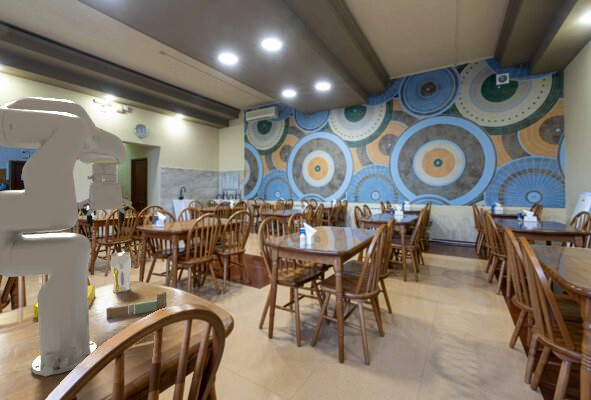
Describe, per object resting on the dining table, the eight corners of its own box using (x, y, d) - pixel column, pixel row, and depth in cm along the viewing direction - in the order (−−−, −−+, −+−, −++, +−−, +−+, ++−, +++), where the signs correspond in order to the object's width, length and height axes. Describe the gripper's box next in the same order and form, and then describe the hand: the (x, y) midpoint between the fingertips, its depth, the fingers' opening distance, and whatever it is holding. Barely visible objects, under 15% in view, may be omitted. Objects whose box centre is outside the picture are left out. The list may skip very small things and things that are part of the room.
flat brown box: (172, 317, 92) (172, 306, 92) (102, 330, 83) (102, 318, 83) (169, 296, 109) (169, 286, 109) (111, 305, 100) (110, 295, 100)
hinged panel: (134, 315, 92) (134, 298, 91) (135, 311, 94) (134, 295, 94) (166, 309, 96) (166, 293, 96) (166, 306, 99) (166, 290, 98)
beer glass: (107, 291, 112) (106, 255, 112) (123, 286, 119) (122, 251, 118) (119, 294, 110) (118, 256, 109) (135, 288, 116) (134, 252, 115)
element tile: (89, 310, 97) (88, 297, 97) (31, 320, 90) (31, 306, 90) (96, 295, 110) (95, 283, 110) (46, 302, 103) (45, 289, 103)
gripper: (77, 178, 96) (79, 228, 97) (133, 179, 108) (134, 223, 109) (74, 178, 101) (76, 226, 102) (128, 179, 113) (129, 221, 114)
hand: (106, 224), depth 106 cm, fingers open, 9 cm apart
